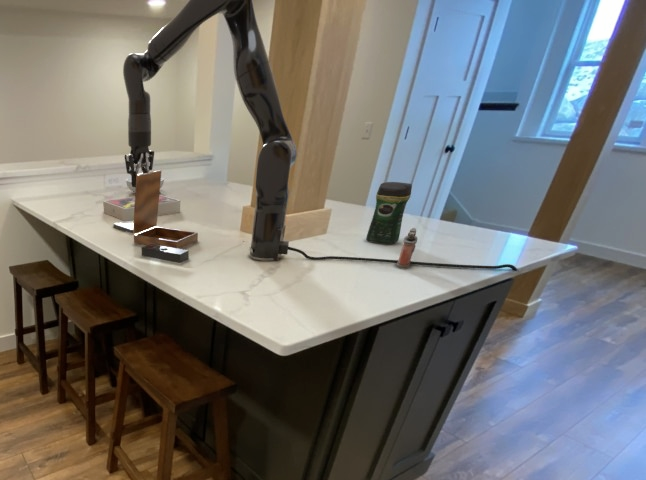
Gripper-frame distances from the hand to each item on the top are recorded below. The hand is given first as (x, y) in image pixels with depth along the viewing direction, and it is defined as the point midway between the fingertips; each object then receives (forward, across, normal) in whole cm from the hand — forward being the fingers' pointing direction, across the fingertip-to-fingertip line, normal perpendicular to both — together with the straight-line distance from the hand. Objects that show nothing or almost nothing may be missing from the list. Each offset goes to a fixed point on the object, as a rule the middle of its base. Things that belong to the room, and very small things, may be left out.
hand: (140, 185), depth 154 cm
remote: (+18, -15, -21) cm, 31 cm away
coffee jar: (+17, +39, -74) cm, 85 cm away
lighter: (+17, +17, -84) cm, 88 cm away
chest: (+18, 0, -11) cm, 22 cm away
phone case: (+19, +11, +13) cm, 25 cm away
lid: (+5, 0, -3) cm, 6 cm away
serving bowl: (+20, +79, +56) cm, 99 cm away
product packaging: (+20, +38, +28) cm, 51 cm away
